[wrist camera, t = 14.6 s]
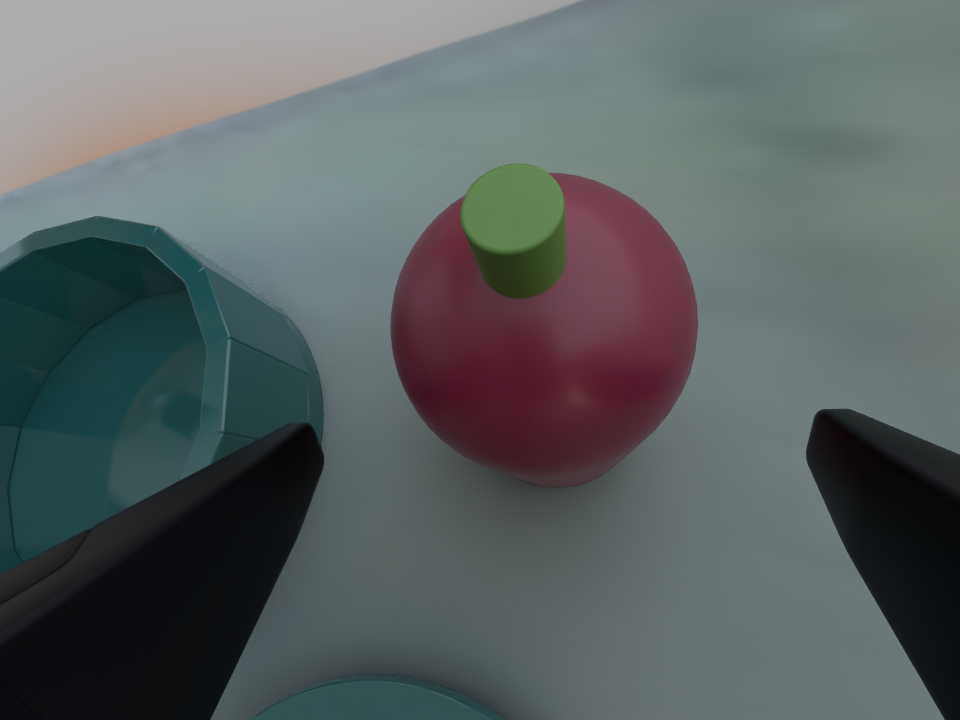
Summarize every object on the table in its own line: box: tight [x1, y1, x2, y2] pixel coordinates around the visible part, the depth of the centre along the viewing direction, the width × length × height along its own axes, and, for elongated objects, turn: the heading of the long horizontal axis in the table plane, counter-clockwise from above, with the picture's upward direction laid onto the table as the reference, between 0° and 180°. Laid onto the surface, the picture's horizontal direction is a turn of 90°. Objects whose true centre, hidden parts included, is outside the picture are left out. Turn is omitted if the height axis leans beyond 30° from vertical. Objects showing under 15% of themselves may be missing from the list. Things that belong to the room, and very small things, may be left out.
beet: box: [391, 164, 698, 487], centre depth 10 cm, size 6×6×11 cm
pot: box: [0, 216, 323, 573], centre depth 16 cm, size 14×14×5 cm
